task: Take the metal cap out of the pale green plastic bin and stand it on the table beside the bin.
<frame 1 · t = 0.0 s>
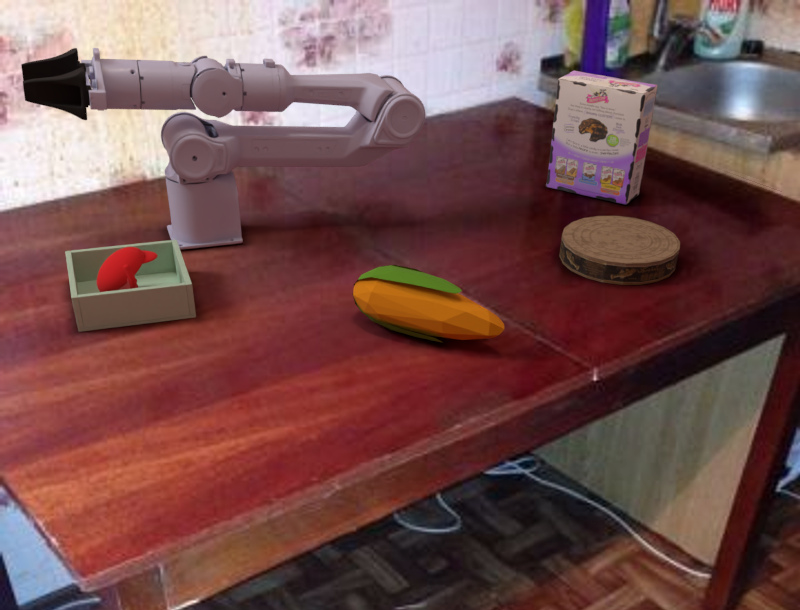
hand: (22, 82, 120), 22 cm above the table, tool horizontal, fingers open, 7 cm apart
corn: (428, 334, 118), on the table
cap: (132, 298, 123), resting in bin
bin: (132, 300, 123), on the table
candy box: (591, 192, 155), on the table
tin can: (617, 260, 136), on the table
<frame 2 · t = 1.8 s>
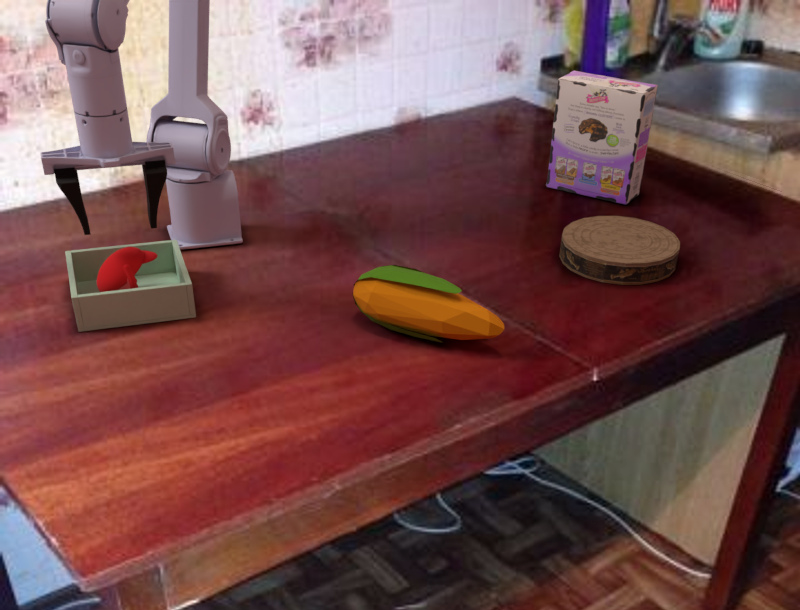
hand: (120, 228, 117), 9 cm above the table, tool pointing down, fingers open, 7 cm apart
nothing on the table moved.
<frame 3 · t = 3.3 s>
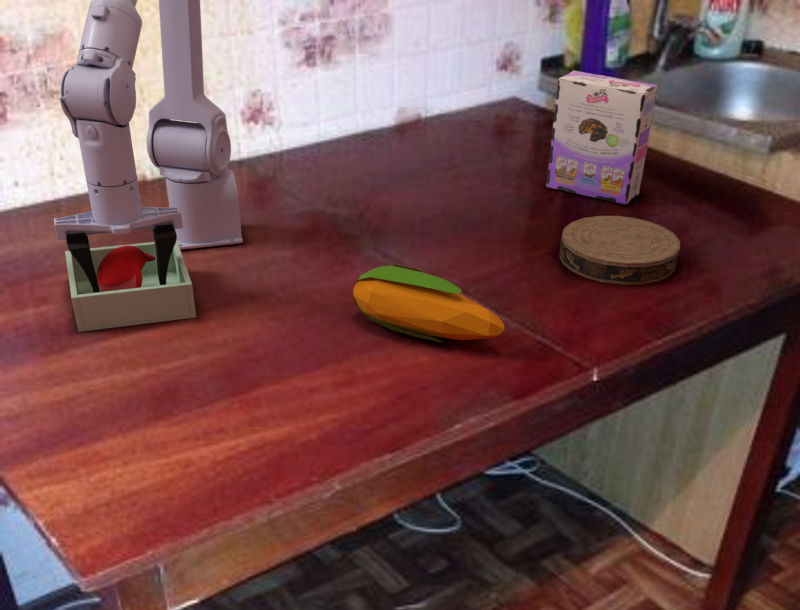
hand: (129, 287, 122), 2 cm above the table, tool pointing down, fingers closed on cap, 7 cm apart
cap: (125, 297, 122), point 1 cm above the table, touching bin, gripper
everything else where it was.
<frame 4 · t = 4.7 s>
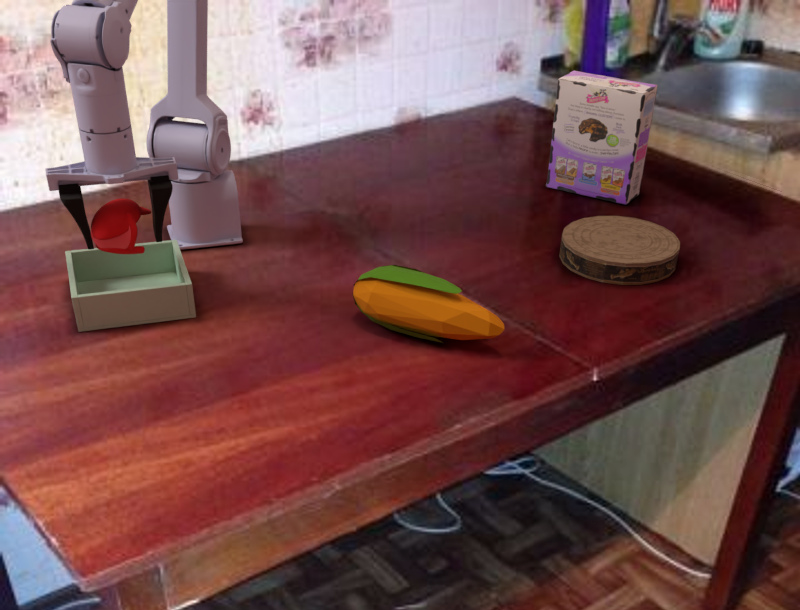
hand: (124, 242, 118), 7 cm above the table, tool pointing down, fingers closed on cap, 7 cm apart
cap: (120, 252, 119), point 6 cm above the table, touching gripper
everything else where it was.
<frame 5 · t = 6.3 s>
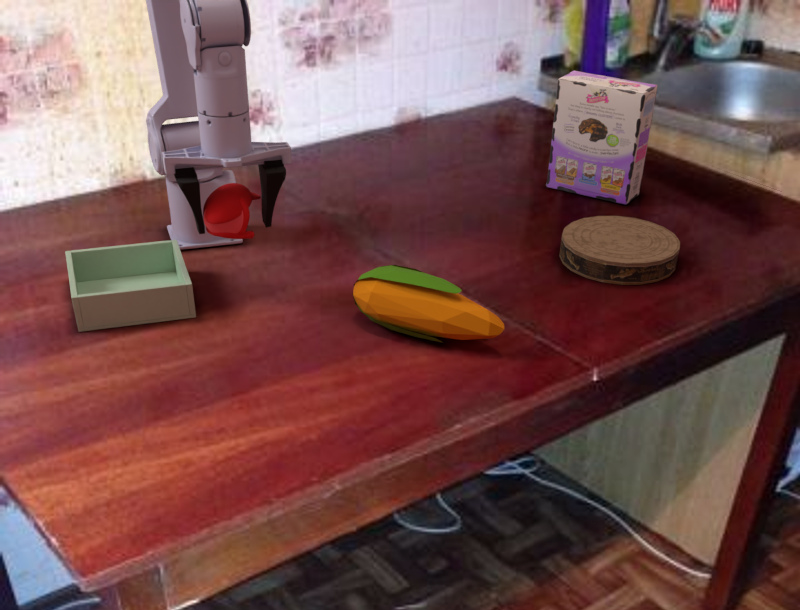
hand: (233, 227, 118), 9 cm above the table, tool pointing down, fingers closed on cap, 7 cm apart
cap: (229, 237, 119), point 8 cm above the table, touching gripper
everything else where it was.
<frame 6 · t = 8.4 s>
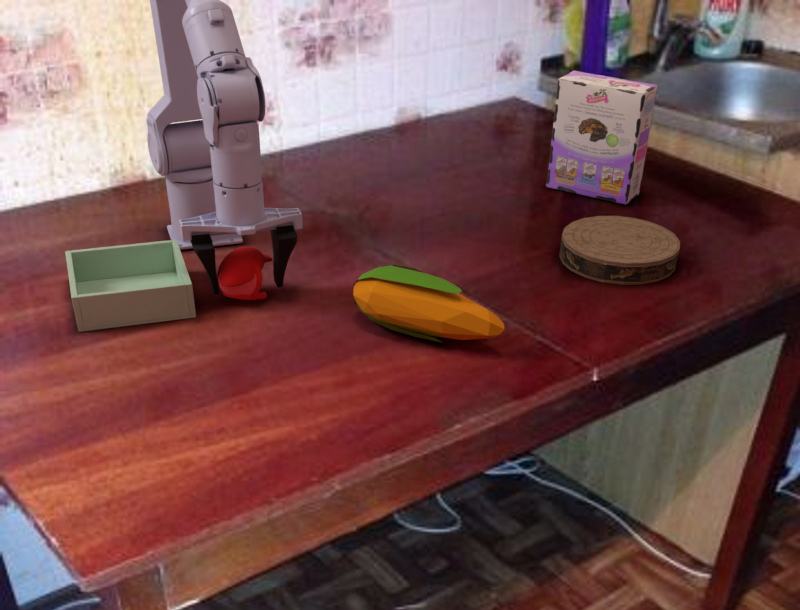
hand: (246, 288, 124), 1 cm above the table, tool pointing down, fingers closed on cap, 7 cm apart
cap: (242, 297, 124), on the table, touching gripper
everything else where it was.
when the fingers open (5 cm above the table, at t = 9.6 s): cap drops 4 cm, on the table.
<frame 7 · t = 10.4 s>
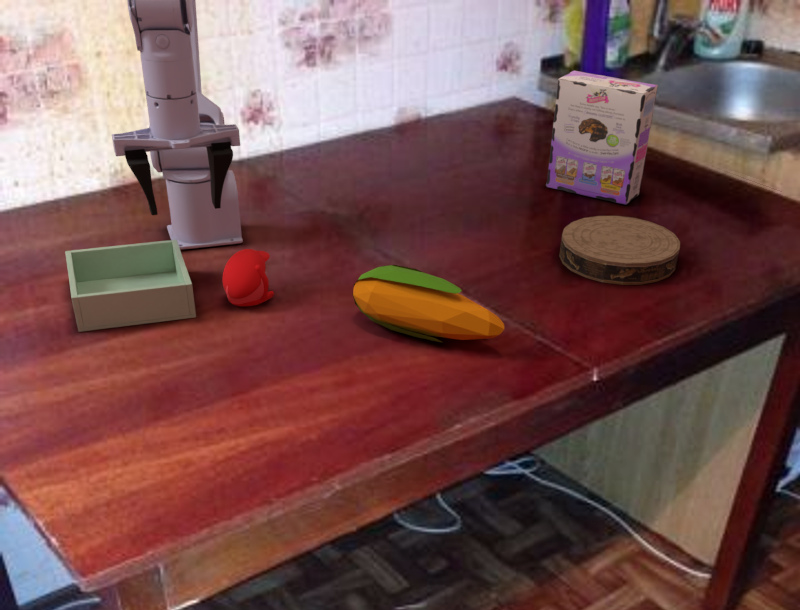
hand: (185, 208, 121), 10 cm above the table, tool pointing down, fingers open, 7 cm apart
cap: (250, 300, 124), on the table
everything else where it was.
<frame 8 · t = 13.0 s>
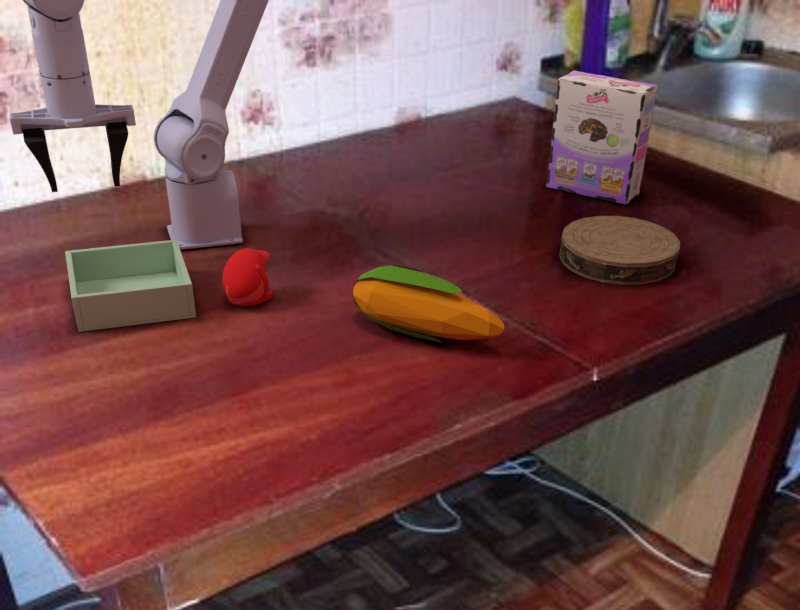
hand: (85, 186, 126), 10 cm above the table, tool pointing down, fingers open, 7 cm apart
nothing on the table moved.
at the end: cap inside the target area (0.4 cm from its centre), on the table; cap touching table; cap tilted 0° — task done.
